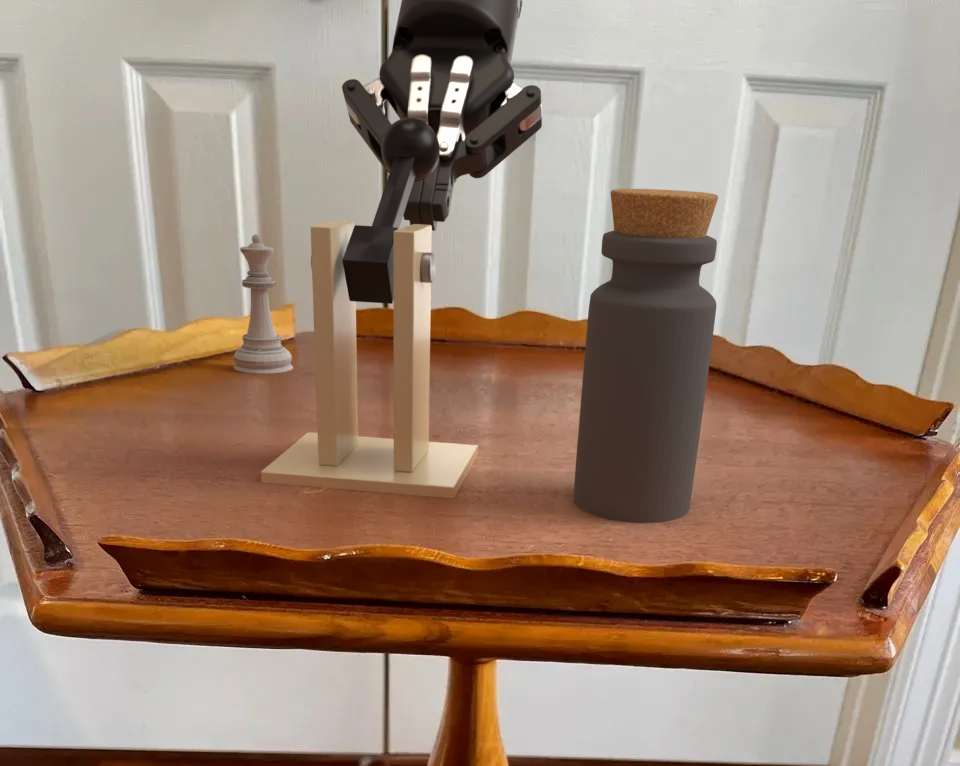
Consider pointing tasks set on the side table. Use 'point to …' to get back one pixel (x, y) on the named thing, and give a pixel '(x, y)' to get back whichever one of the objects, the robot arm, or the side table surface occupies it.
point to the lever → (389, 211)
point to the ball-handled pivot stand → (337, 446)
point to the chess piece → (260, 319)
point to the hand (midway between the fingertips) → (421, 220)
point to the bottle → (647, 359)
